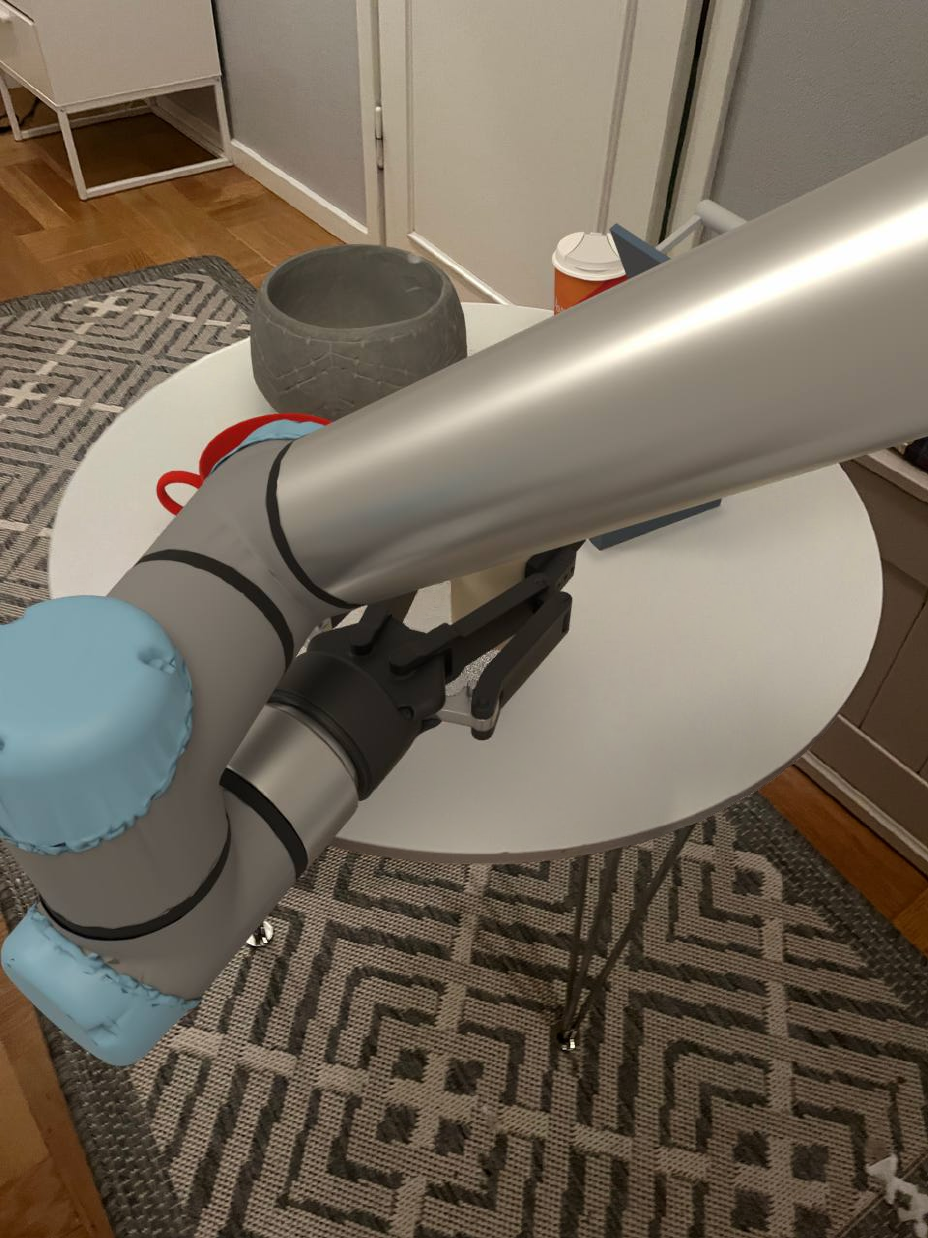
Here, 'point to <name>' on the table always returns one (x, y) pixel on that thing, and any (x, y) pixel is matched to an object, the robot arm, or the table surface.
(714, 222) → the box lid
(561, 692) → the table surface
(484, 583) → the candle
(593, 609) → the table surface
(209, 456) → the ceramic cup
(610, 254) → the coffee cup
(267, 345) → the bowl
